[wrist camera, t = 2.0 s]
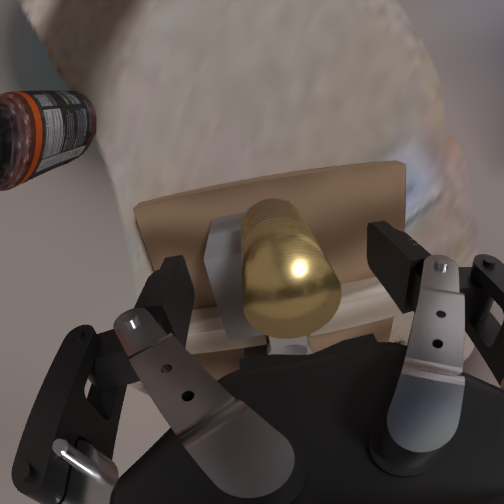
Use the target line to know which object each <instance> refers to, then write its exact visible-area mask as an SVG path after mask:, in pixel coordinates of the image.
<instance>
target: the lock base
mask: <svg viewBox="0 0 504 504" xmlns="http://www.w3.org/2000/svg"><path fill="white" fill-rule="evenodd" d="M266 199H282V200H289V199H290V201H291V202H292V204H293V205H294V206H295V207H296V208H297V209H298V210H299V212H300V213H301V215H302V217H303V218H304V220H305V222H306V223H307V225H308V227H309V228H310V230H311V232H312V233H313V235H314V237H315V239H316V240H317V242H318V244H319V245H320V247H321V249H322V251H323V252H324V254H325V256H326V258H327V259H328V261H329V263H330V265H331V267H332V268H333V270H334V272H335V274H336V276H337V277H338V279H339V282H340V284H341V289H342V297H341V302H340V305H339V308H338V310H337V312H336V313H335V315H334V316H333V317H332V319H331V320H330V321H329V322H328V323H327V324H326V325H324V326H323V327H322V328H320V329H319V330H317V331H315V332H313V333H311V334H309V335H306V337H307V338H308V340H309V342H310V346H311V349H312V353H315V352H318V351H320V350H322V349H325V348H327V347H329V346H331V345H334V344H336V343H338V342H340V341H343V340H347V339H351V338H355V337H359V336H363V335H367V334H371V333H373V334H374V336H375V338H376V340H377V342H389V338H390V333H391V328H392V323H393V317H394V316H397V315H400V314H402V312H401V311H400V309H399V308H398V307H397V305H396V304H395V302H394V301H393V299H392V298H391V297H390V295H389V294H388V292H387V291H386V290H385V288H384V287H383V286H382V284H381V283H380V281H379V280H378V279H377V277H376V276H375V275H374V273H373V272H372V271H371V269H370V268H369V266H368V262H367V225H368V223H370V222H377V221H383V220H385V221H386V222H388V223H389V224H390V225H391V226H392V227H394V228H395V229H398V230H400V231H402V232H404V228H405V208H406V164H404V163H402V162H399V161H384V162H372V163H361V164H352V165H342V166H334V167H325V168H318V169H310V170H303V171H296V172H289V173H282V174H276V175H270V176H264V177H258V178H252V179H247V180H241V181H236V182H230V183H225V184H220V185H215V186H210V187H205V188H201V189H196V190H191V191H187V192H182V193H178V194H174V195H169V196H165V197H161V198H157V199H153V200H149V201H145V202H141V203H139V204H138V205H137V206H136V207H135V208H134V209H133V210H134V214H135V217H136V220H137V223H138V226H139V229H140V232H141V235H142V238H143V241H144V243H145V246H146V249H147V252H148V255H149V257H150V260H151V263H152V266H153V268H154V271H156V270H159V269H160V267H161V265H162V263H163V261H164V259H165V257H171V256H176V255H183V257H184V259H185V262H186V265H187V268H188V271H189V274H190V277H191V280H192V283H193V287H194V292H195V300H194V305H193V310H192V315H191V320H190V325H189V331H188V336H187V341H186V347H185V348H186V350H187V351H188V352H189V353H190V354H191V355H192V356H193V357H194V358H195V359H196V360H197V361H198V362H199V363H200V364H201V365H202V366H203V368H204V369H205V370H206V371H207V372H208V373H209V374H210V375H211V376H212V377H213V378H214V379H215V380H216V381H217V380H219V379H220V378H222V377H224V376H225V375H227V374H229V373H232V372H234V371H236V370H239V369H240V359H245V358H252V357H259V356H265V355H267V346H268V344H269V342H270V339H269V336H267V335H264V334H262V333H260V332H259V331H257V330H256V329H255V328H254V327H253V326H251V324H250V323H249V322H248V320H247V318H246V316H245V314H244V309H243V291H242V261H241V222H242V219H243V217H244V215H245V207H248V206H253V205H254V204H256V203H258V202H260V201H262V200H266Z"/></svg>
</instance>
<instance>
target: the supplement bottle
mask: <svg viewBox="0 0 504 504" xmlns="http://www.w3.org/2000/svg"><path fill="white" fill-rule="evenodd" d="M95 129H96V116H95V111H94V108H93V106H92V104H91V102H90V101H89V100H88V99H87V98H86V97H85V96H84V95H82V94H80V93H78V92H73V91H53V90H52V91H18V92H8V93H4V94H0V191H4V190H9V189H11V188H13V187H16V186H18V185H19V184H22V183H24V182H27V181H28V180H30V179H33V178H34V177H36V176H39V175H40V174H43V173H45V172H47V171H49V170H52V169H54V168H56V167H59V166H61V165H64V164H67V163H68V162H71V161H73V160H74V159H76V158H78V157H80V156H81V155H82V154H83V153H84V152H85V151H86V150H87V148H88V147H89V145H90V143H91V142H92V140H93V137H94V133H95Z"/></svg>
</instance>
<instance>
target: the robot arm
mask: <svg viewBox="0 0 504 504" xmlns="http://www.w3.org/2000/svg"><path fill="white" fill-rule="evenodd" d="M367 262H368V266H369V268H370V269H371V271H372V272H373V273H374V275H375V276H376V277H377V279H378V280H379V281H380V283H381V284H382V286H383V287H384V288H385V290H386V291H387V292H388V294H389V295H390V297H391V298H392V299H393V301H394V302H395V304H396V305H397V307H398V308H399V309H400V311H401V312H402V314H404V313H407V312H411V311H414V312H415V313H414V317H413V322H412V326H411V330H410V335H409V339H408V342H407V346H405V345H402V344H398V343H393V342H377V340H376V338H375V336H374V334H373V333H371V334H367V335H363V336H359V337H355V338H351V339H347V340H343V341H340V342H338V343H336V344H334V345H331V346H329V347H327V348H325V349H322V350H320V351H318V352H315V353H313V354H309V355H286V354H272V355H265V356H259V357H252V358H245V359H240V369H239V370H236V371H234V372H232V373H229V374H227V375H225V376H224V377H222V378H220V379H219V380H217V381H216V380H215V379H214V378H213V377H212V376H211V375H210V374H209V373H208V372H207V371H206V370H205V369H204V368H203V366H202V365H201V364H200V363H199V362H198V361H197V360H196V359H195V358H194V357H193V356H192V355H191V354H190V353H189V352H188V351H187V350H186V348H185V347H186V341H187V336H188V331H189V325H190V320H191V315H192V310H193V305H194V300H195V292H194V287H193V283H192V280H191V277H190V274H189V271H188V268H187V265H186V262H185V259H184V257H183V255H176V256H171V257H165V259H164V261H163V263H162V265H161V267H160V269H159V270H156V271H155V272H154V273H152V274H151V275H150V276H149V277H148V279H147V281H146V283H145V286H144V288H143V290H142V292H141V294H140V296H139V298H138V300H137V303H136V305H135V307H134V309H130V310H128V311H126V312H124V313H122V314H121V315H120V316H119V317H118V318H117V319H116V320H115V322H114V329H112V330H109V331H106V332H103V333H99V334H96V332H95V330H94V328H93V327H92V326H90V325H81V326H79V327H76V328H74V329H73V330H71V331H70V332H69V333H68V334H67V336H66V337H65V339H64V340H63V343H62V345H61V346H60V348H59V350H58V352H57V354H56V356H55V358H54V360H53V362H52V364H51V366H50V369H49V371H48V373H47V375H46V377H45V379H44V382H43V384H42V386H41V389H40V391H39V393H38V395H37V398H36V400H35V403H34V405H33V408H32V410H31V413H30V415H29V418H28V421H27V424H26V426H25V429H24V432H23V434H22V437H21V440H20V443H19V447H18V450H17V453H16V456H15V460H14V463H13V467H12V480H13V483H14V485H15V487H16V488H17V489H18V491H20V492H21V493H23V494H24V495H26V496H28V497H30V498H32V499H33V500H35V501H37V502H39V503H40V504H504V321H503V324H502V326H501V325H500V324H499V322H498V321H497V320H496V319H495V317H494V316H493V315H492V314H491V313H490V309H491V307H492V304H493V301H494V300H495V301H496V303H497V304H498V305H499V306H500V307H501V308H502V310H503V313H504V264H503V263H502V262H501V261H500V260H498V259H497V258H495V257H493V256H490V255H486V254H481V255H477V256H476V257H475V258H474V261H473V266H472V267H458V264H457V263H456V262H455V261H454V260H453V259H451V258H449V257H447V256H443V255H431V254H430V253H429V252H427V251H426V250H425V249H424V248H423V247H422V246H421V245H419V244H418V243H417V242H416V241H415V240H413V239H412V238H411V237H410V236H409V235H408V234H407V233H405V232H402V231H400V230H398V229H395V228H394V227H392V226H391V225H390V224H389V223H388V222H386V221H385V220H383V221H377V222H370V223H368V225H367ZM465 331H466V333H467V334H468V336H469V337H470V339H471V340H472V342H473V343H474V345H475V346H476V347H477V349H478V351H479V352H480V354H481V355H482V357H483V358H484V360H485V362H486V363H487V365H488V366H489V368H490V370H491V371H492V373H493V374H494V376H495V378H496V380H497V381H498V383H499V385H500V388H498V387H496V386H494V385H491V384H489V383H487V382H485V381H483V380H480V379H478V378H476V377H474V376H471V375H469V374H467V373H465V372H462V367H463V356H464V338H465ZM87 379H89V380H90V382H91V383H92V384H91V387H90V390H89V393H88V397H87V399H86V397H85V393H84V388H85V384H86V382H87ZM137 381H141V382H142V384H143V386H144V387H145V389H146V390H147V392H148V394H149V395H150V397H151V398H152V400H153V402H154V403H155V405H156V406H157V407H158V409H159V411H160V412H161V413H162V415H163V417H164V418H165V420H166V421H167V422H168V424H169V425H170V427H171V428H170V429H169V430H168V431H167V432H166V433H165V434H164V435H163V436H162V437H161V438H160V439H159V440H158V441H157V442H156V443H155V444H154V445H153V446H152V447H151V448H150V449H149V450H148V451H147V452H146V453H145V454H144V455H143V456H142V457H141V458H140V459H139V460H138V461H136V462H135V463H134V464H133V465H132V466H131V467H130V468H129V469H128V470H127V471H126V472H125V473H124V474H123V475H122V476H121V477H120V478H119V477H118V469H117V466H116V465H115V463H114V462H113V461H112V457H113V451H114V445H115V440H116V434H117V429H118V424H119V419H120V414H121V410H122V405H123V401H124V396H125V392H126V387H127V384H130V383H134V382H137Z"/></svg>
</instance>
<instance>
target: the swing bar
mask: <svg viewBox="0 0 504 504" xmlns="http://www.w3.org/2000/svg"><path fill="white" fill-rule="evenodd" d="M241 261H242V291H243V309H244V314H245V316H246V318H247V320H248V322H249V323H250V324H251V326H253V327H254V328H255V329H256V330H257V331H259V332H260V333H262V334H264V335H267V336H269V339H270V342H269V344H268V346H267V355H272V354H286V355H309V354H313V353H312V349H311V346H310V342H309V340H308V338H307V337H306V335H309V334H311V333H313V332H315V331H317V330H319V329H320V328H322V327H323V326H324V325H326V324H327V323H328V322H329V321H330V320H331V319H332V317H333V316H334V315H335V313H336V312H337V310H338V308H339V305H340V302H341V297H342V289H341V284H340V282H339V279H338V277H337V276H336V274H335V272H334V270H333V268H332V267H331V265H330V263H329V261H328V259H327V258H326V256H325V254H324V252H323V251H322V249H321V247H320V245H319V244H318V242H317V240H316V239H315V237H314V235H313V233H312V232H311V230H310V228H309V227H308V225H307V223H306V222H305V220H304V218H303V217H302V215H301V213H300V212H299V210H298V209H297V208H296V207H295V206H294V205H293V204H292V202H291V201H290V199H289V200H282V199H266V200H262V201H260V202H258V203H256V204H254V205H253V206H248V207H245V215H244V217H243V219H242V222H241Z"/></svg>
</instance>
